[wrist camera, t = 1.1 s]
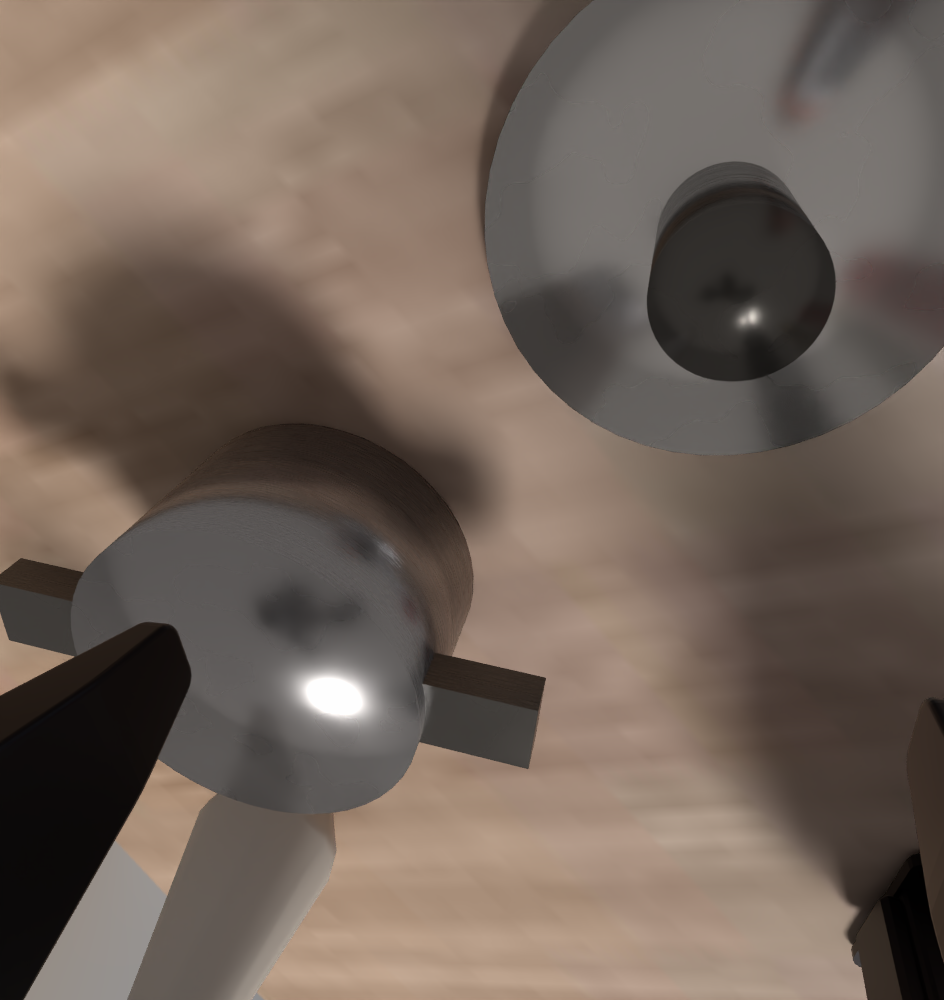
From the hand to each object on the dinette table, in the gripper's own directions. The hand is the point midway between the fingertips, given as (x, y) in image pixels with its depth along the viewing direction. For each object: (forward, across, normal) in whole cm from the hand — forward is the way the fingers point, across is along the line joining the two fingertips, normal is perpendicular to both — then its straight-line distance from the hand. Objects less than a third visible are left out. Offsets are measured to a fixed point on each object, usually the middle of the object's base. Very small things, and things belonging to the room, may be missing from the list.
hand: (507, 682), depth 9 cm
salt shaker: (+13, +13, +20) cm, 27 cm away
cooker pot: (+12, +9, +8) cm, 17 cm away
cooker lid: (+13, -3, -3) cm, 13 cm away
